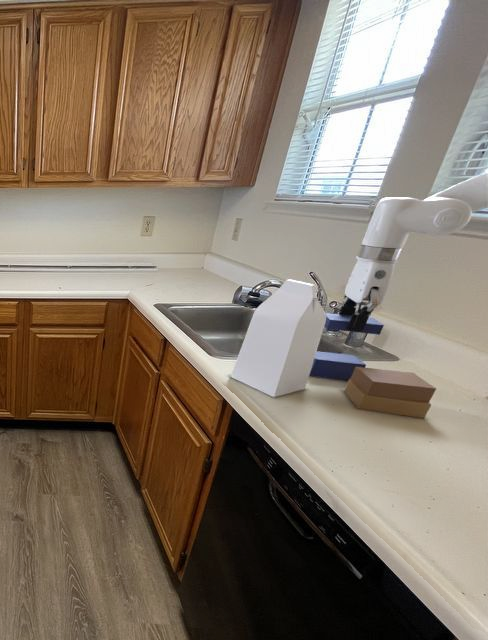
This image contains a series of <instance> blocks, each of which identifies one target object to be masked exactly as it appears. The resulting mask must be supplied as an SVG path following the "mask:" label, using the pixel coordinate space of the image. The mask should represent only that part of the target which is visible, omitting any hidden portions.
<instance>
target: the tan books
mask: <svg viewBox="0 0 488 640" xmlns="http://www.w3.org/2000/svg"><path fill="white" fill-rule="evenodd" d="M436 391H437V388H436V387H435V386H433V385H432V384H430V383H429V382H427V381H426V380H425V379H423V378H422V377H420V376H419V375H417V374H416V373H415V372H409V371H399V370H391V369H383V368H382V369H381V368H372V367H365V368H364V367H355V369H354V372H353V374H352V376H351V378H350V379H349V381H347V383H346V386H345V388H344V391H343V392H344V393H345V394H346V396H347V397H348V398H349V399H350V400H351V402H352V403H353V404H354V405H355V406H356V408H357V409H361V410H368V411H373V412H380V413H388V414H393V415H401V416H406V417H412V418H413V417H414V418H419V419H420V418H422V419H425V417H426V416H427V414H428V412H429V410H430V408H431V407H432V403H430V401H432V400H431V399H432V398H433V396H434V394H435V392H436Z"/></svg>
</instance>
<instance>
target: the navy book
mask: <svg viewBox="0 0 488 640" xmlns="http://www.w3.org/2000/svg"><path fill="white" fill-rule="evenodd" d="M325 314H326V322H325V326H324V328H325V329H326V330H333V331H342V332H349V333H359V334H370V335H381V333H382V330H383V328H384V326H385V324H383V323H382V322H380V321H378V320H377V319H375V318H374V317H372V316H369V318H368V320H367V323H366V325H365V327H364V330H363V331H352V330H348V329H347V326H348V324H349V321H350V319H351V316H352V315H342V314H339V313H330V312H325Z"/></svg>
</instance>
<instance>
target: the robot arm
mask: <svg viewBox="0 0 488 640" xmlns="http://www.w3.org/2000/svg"><path fill="white" fill-rule="evenodd" d="M487 208H488V170H487V171H485V172H483V173H480V174H478V175H477V174H476V175H475V176H472V177H470V178H468V179H465V180H463V181H460V182H459V183H456V184H454V185H453V186H450V187H448V188H446V189H443V190H442V191H439V192H437V193H435V194H433V195H431V196H429V197H427V198H425V199H418V198H416V197H415V198H414V197H397V196H396V197H394V196H393V197H384V198H381V199H380V200H379V201H378V202H377V204H376V206H375V208H374V211H373V214H372V216H371V219H370V221H369V223H368V226H367V229H366V231H365V234H364V236H363V239H362V241H361V244H360V246H359V249H358V251H357V254H356V257H355V259H356V260H357V261H356V263H355V265H354V266H353V269H352V271H351V273H350V276H349V278H348V281H347V282H346V286H345V290H344V296H343V297H344V299H343V301H342V303H341V307H340V309H339V312H338V314H342V315H352V316H351V319H350V321H349V324H348V326H347V329H348V330H352V331H363V330H364V327H365V325H366V323H367V320H368V318H369V317H371V316H372V313H373V312H374V311H375V309H376V308H377V307H378V306H380V305H381V304H383V302H384V300H385V297H386V295H387V292H388V289H389V287H390V283H391V281H392V278H393V274H394V270H395V267H396V263H398V261H399V259H400V256H401V254H402V251H403V249H404V247H405V245H406V242H407V240H408V238H409V235H410V234H411V233H416V234H421V235H422V234H424V235H427V236H428V235H429V236H435V237H437V236H439V237H440V236H447V235H452V234H455V233H456V232H458V231H461V230H462V229H463V228H464V227H466V226H467V225H468V223H469V222H470V220H471V219H472V216H473V214H474V213H476V212H478V211H481V210H484V209H487Z"/></svg>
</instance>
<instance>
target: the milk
mask: <svg viewBox="0 0 488 640" xmlns="http://www.w3.org/2000/svg"><path fill="white" fill-rule="evenodd" d="M317 295H318V294H317V285H316V284H313V283H309V282H304V281H299V280H295V279H285V281H284V282H283V283H282V284H281V286H280V287H279V288H278V289H277V290H276V291H275V292H273V294H271V295H270V296H269V297H268V298H266V299H265V300H264V301H263V302H262V303H260V304H259V305H258V306H257V308H256V309H255V310H254V312H253V315H252V317H251V319H250V322H249V324H248V325H249V326H248V328H247V331H246V333H245V337H244V339H243V342H242V344H241V347H240V350H239V352H238V355H237V357H236V360H235V363H234V366H233V369H232V371H231V374H230V378H233V379H234V380H237V381H239V382H241V383H243V384H245V385H247V386H249V387H251V388H253V389H256V390H258V391H259V392H262V393H264V394H266V395H269V396H271V397H273V398H276V397H279V396H283V395H284V396H285V395H287V394H290V393H291V394H292V393H294V392H295V393H296V392H299V391H302V390H305V389H306V387H307V384H308V382H309V377H310V376H309V374H310V371H311V368H312V365H313V361H314V358H315V355H316V352H317V351H318V349H319V345H320V342H321V338H322V334H323V331H324V328H325V327H324V326H325V322H326V314H325V313H326V311H325V309H324V307H323V306H322V304H321V302H320V301H319V300H318V296H317Z"/></svg>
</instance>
